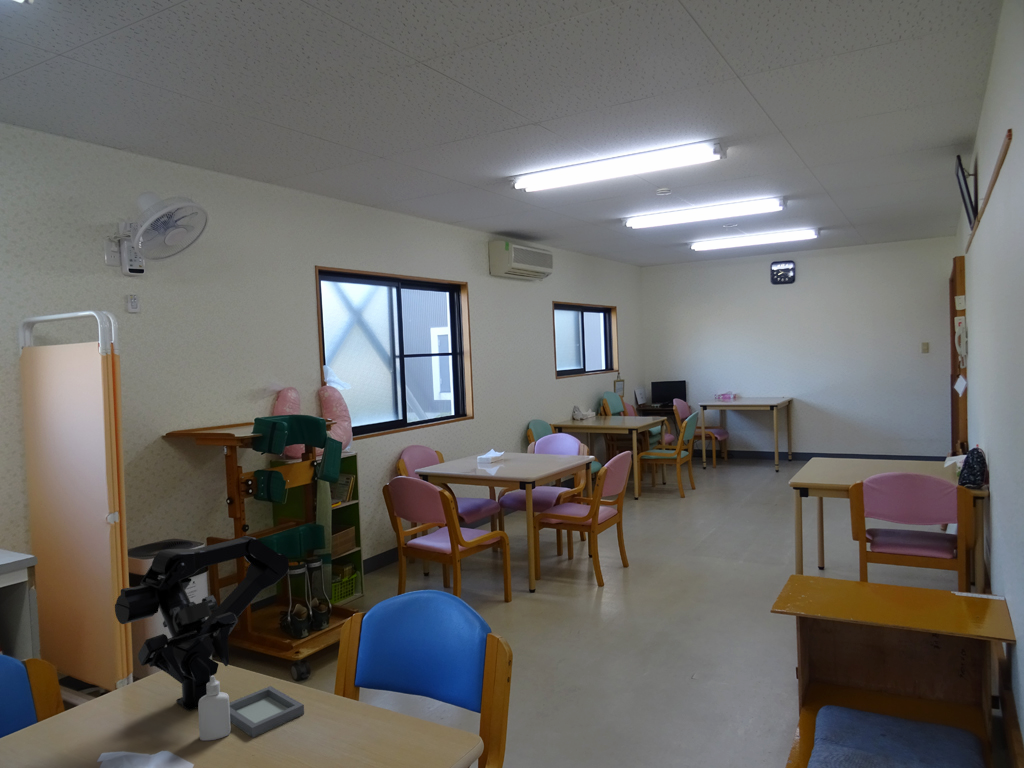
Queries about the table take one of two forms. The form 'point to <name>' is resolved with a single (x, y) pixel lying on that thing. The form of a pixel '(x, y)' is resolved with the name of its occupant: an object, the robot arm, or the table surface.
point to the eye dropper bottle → (214, 712)
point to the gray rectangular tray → (264, 711)
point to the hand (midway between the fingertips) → (206, 673)
